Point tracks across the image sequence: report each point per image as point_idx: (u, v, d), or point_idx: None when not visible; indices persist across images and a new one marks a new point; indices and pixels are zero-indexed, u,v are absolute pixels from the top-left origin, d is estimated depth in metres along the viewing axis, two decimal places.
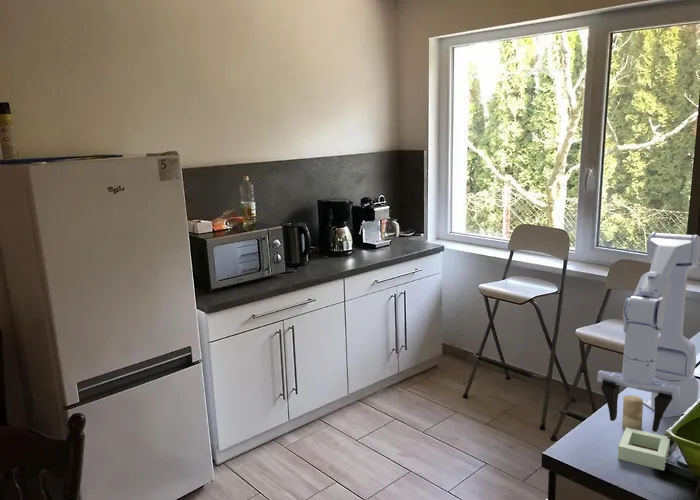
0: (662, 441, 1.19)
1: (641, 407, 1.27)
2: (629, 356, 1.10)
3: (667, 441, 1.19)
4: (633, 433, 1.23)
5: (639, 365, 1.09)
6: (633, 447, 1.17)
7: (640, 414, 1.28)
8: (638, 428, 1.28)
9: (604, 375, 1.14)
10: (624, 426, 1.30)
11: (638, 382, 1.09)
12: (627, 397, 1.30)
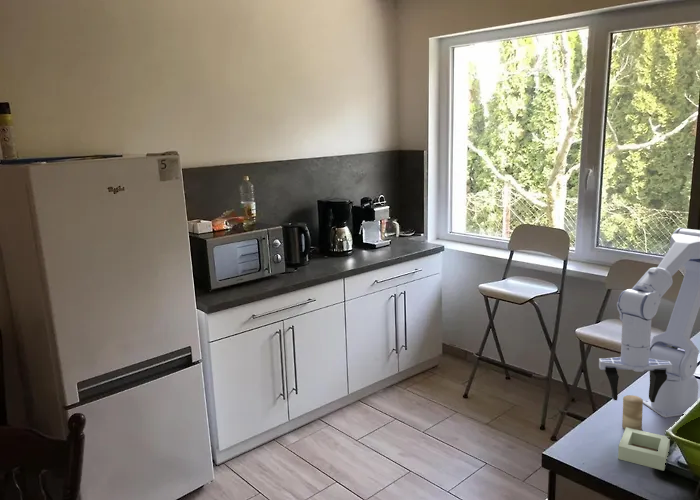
0: (662, 441, 1.19)
1: (640, 406, 1.27)
2: (623, 342, 1.26)
3: (667, 441, 1.19)
4: (633, 433, 1.23)
5: (641, 351, 1.23)
6: (633, 447, 1.17)
7: (640, 414, 1.28)
8: (638, 428, 1.28)
9: (607, 363, 1.27)
10: (624, 426, 1.30)
11: (641, 365, 1.24)
12: (627, 397, 1.30)
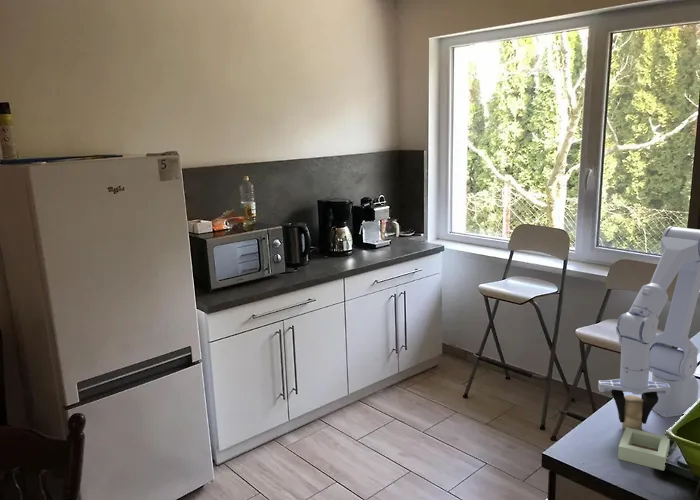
0: (662, 441, 1.19)
1: (641, 407, 1.27)
2: (622, 365, 1.27)
3: (667, 441, 1.19)
4: (633, 433, 1.23)
5: (640, 374, 1.24)
6: (633, 447, 1.17)
7: (640, 414, 1.28)
8: (638, 428, 1.28)
9: (606, 386, 1.28)
10: (624, 426, 1.30)
11: (640, 388, 1.25)
12: (627, 397, 1.30)
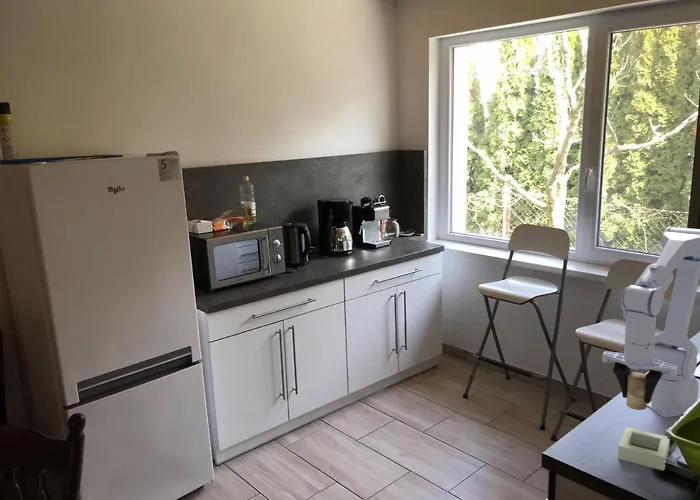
0: (662, 441, 1.19)
1: (642, 384, 1.22)
2: (628, 340, 1.21)
3: (667, 441, 1.19)
4: (633, 433, 1.23)
5: (638, 349, 1.20)
6: (633, 447, 1.17)
7: (641, 392, 1.22)
8: (639, 406, 1.23)
9: (608, 356, 1.26)
10: None
11: (638, 363, 1.20)
12: (633, 373, 1.25)
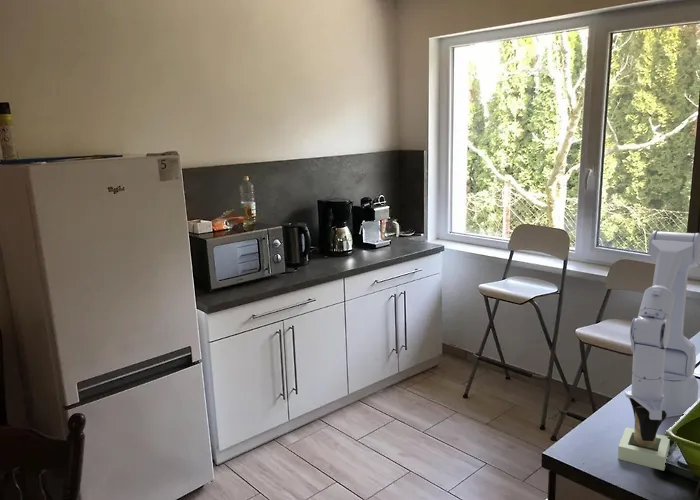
0: (662, 441, 1.19)
1: None
2: (638, 375, 1.15)
3: (667, 441, 1.19)
4: (633, 433, 1.23)
5: (633, 378, 1.16)
6: (633, 447, 1.17)
7: (639, 425, 1.17)
8: (637, 439, 1.18)
9: None
10: None
11: (633, 393, 1.17)
12: None
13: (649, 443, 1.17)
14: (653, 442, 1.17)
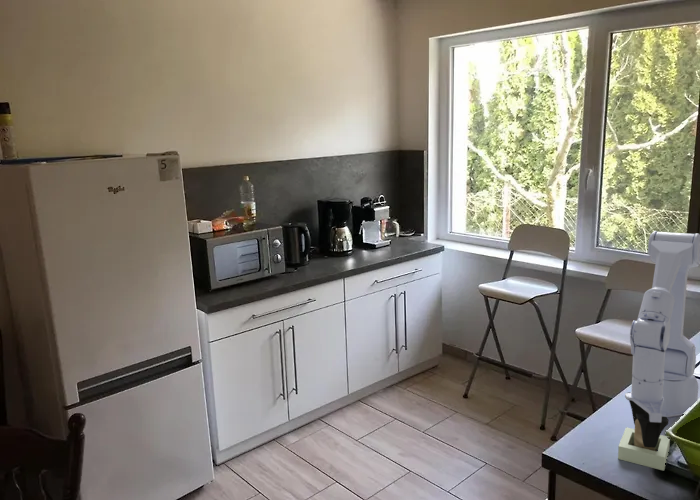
0: (662, 441, 1.19)
1: (639, 430, 1.18)
2: (638, 377, 1.15)
3: (667, 441, 1.19)
4: (633, 433, 1.23)
5: (633, 380, 1.16)
6: (633, 447, 1.17)
7: (639, 438, 1.18)
8: None
9: None
10: None
11: (632, 396, 1.17)
12: None
13: None
14: None
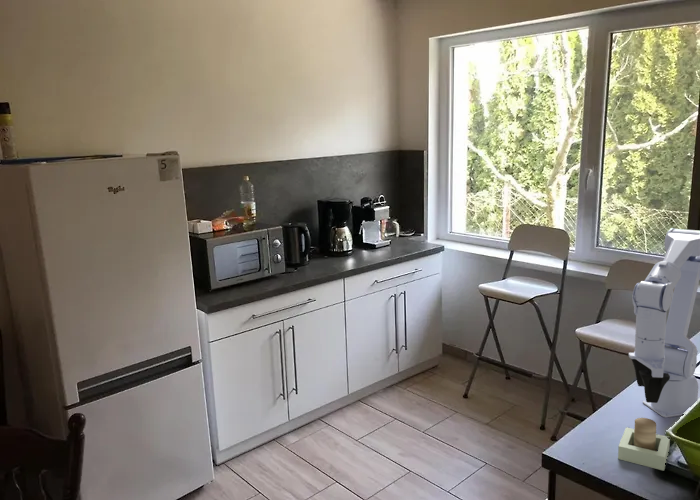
0: (662, 441, 1.19)
1: (639, 429, 1.18)
2: (639, 336, 1.22)
3: (667, 441, 1.19)
4: (633, 433, 1.23)
5: (636, 340, 1.23)
6: (633, 447, 1.17)
7: (639, 437, 1.18)
8: None
9: None
10: None
11: (636, 354, 1.24)
12: (648, 420, 1.19)
13: None
14: None
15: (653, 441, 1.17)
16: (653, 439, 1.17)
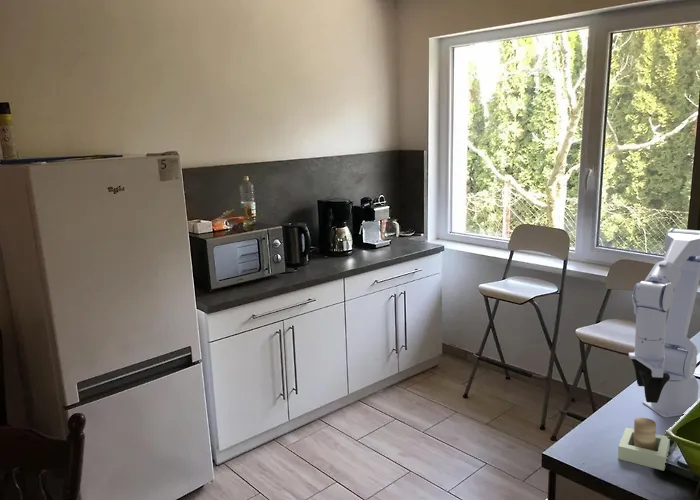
0: (662, 441, 1.19)
1: (638, 429, 1.18)
2: (639, 336, 1.22)
3: (667, 441, 1.19)
4: (633, 433, 1.23)
5: (636, 340, 1.23)
6: (633, 447, 1.17)
7: (638, 437, 1.18)
8: None
9: None
10: None
11: (636, 354, 1.24)
12: (648, 420, 1.19)
13: None
14: None
15: (653, 441, 1.17)
16: (653, 439, 1.17)
